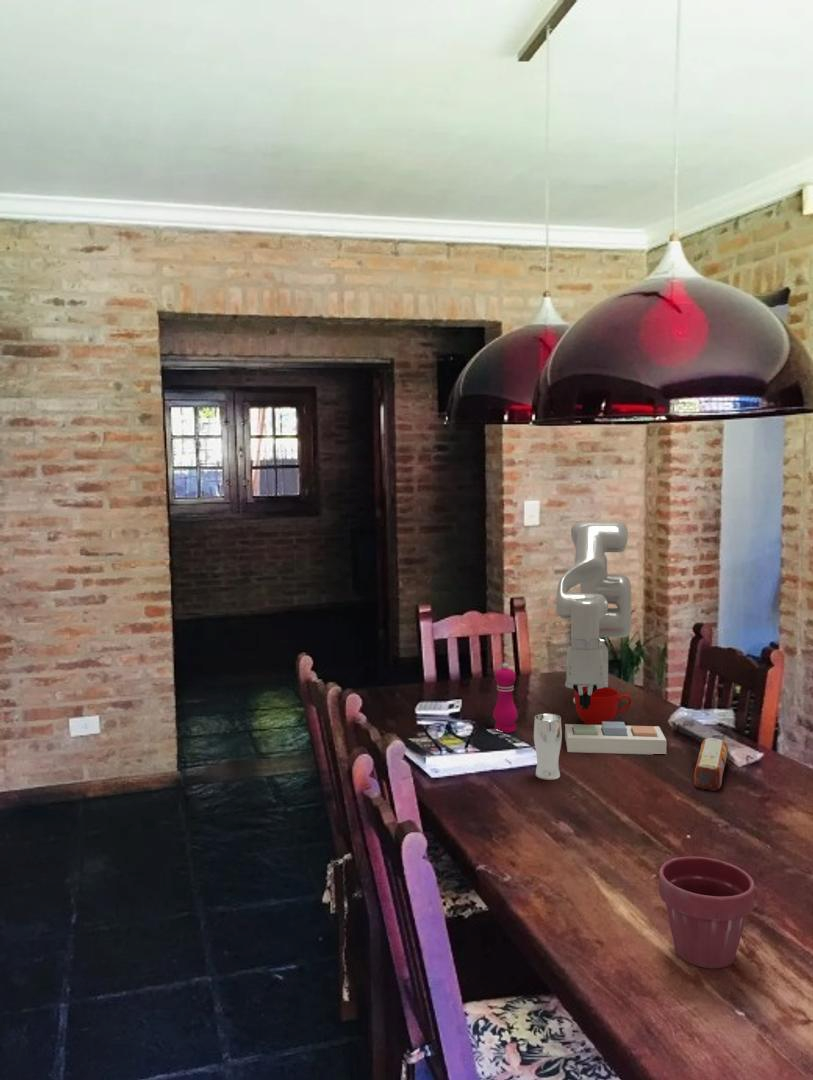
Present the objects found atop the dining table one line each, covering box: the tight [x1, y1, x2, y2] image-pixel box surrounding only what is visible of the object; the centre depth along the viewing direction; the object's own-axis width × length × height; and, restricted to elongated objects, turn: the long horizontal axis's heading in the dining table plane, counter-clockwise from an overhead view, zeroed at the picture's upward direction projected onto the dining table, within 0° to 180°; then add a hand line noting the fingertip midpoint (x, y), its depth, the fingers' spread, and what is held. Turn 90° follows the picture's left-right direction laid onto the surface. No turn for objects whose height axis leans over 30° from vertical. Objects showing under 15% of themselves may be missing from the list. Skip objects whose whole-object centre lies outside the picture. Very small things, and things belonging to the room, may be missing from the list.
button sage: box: [572, 723, 597, 735], centre depth 233 cm, size 6×6×2 cm
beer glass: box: [533, 713, 563, 781], centre depth 210 cm, size 7×7×15 cm
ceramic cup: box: [573, 686, 632, 725], centre depth 252 cm, size 13×17×10 cm
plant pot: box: [658, 856, 755, 969], centre depth 134 cm, size 14×14×13 cm
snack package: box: [693, 737, 729, 791], centre depth 209 cm, size 21×7×7 cm, turn 155°
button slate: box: [602, 721, 627, 736], centre depth 232 cm, size 6×6×2 cm
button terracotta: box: [630, 725, 657, 737], centre depth 231 cm, size 6×6×2 cm
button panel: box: [564, 723, 667, 755], centre depth 232 cm, size 12×26×4 cm, turn 83°
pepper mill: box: [492, 662, 519, 734], centre depth 247 cm, size 7×7×20 cm
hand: (584, 707), depth 233 cm, fingers closed
